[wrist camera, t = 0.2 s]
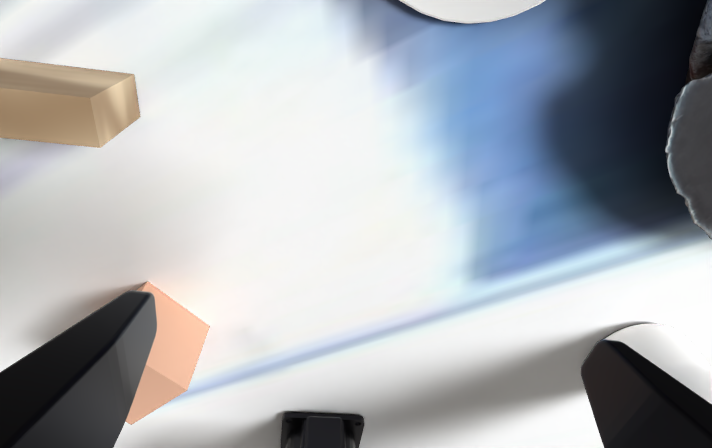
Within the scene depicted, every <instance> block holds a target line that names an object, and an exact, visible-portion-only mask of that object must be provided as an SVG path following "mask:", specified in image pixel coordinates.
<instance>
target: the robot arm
mask: <svg viewBox="0 0 712 448" xmlns="http://www.w3.org/2000/svg"><path fill="white" fill-rule="evenodd" d="M156 332H157V317H156V306H155V297H154V295H153V294H152V293H151V292H145V291H136V290H130V291H127V292H125V293H123V294H122V295H120V296H119V297H117V298H116V299H114V300H112V301H111V302H109V303H108V304H106V305H105V306H103V307H101V308H100V309H98V310H97V311H95V312H94V313H92V314H91V315H89V316H87V317H86V318H84V319H83V320H81V321H80V322H78V323H76V324H75V325H73V326H72V327H70V328H69V329H67V330H66V331H64V332H62V333H61V334H59V335H58V336H56V337H55V338H53V339H52V340H50V341H48V342H47V343H45V344H44V345H42V346H41V347H39V348H37V349H36V350H34V351H33V352H31V353H30V354H28V355H27V356H25V357H23V358H22V359H20V360H19V361H17V362H16V363H14V364H12V365H11V366H9V367H8V368H6V369H5V370H3V371H2V372H0V448H113V447H114V445H115V442H116V440H117V438H118V436H119V434H120V432H121V430H122V428H123V425H124V423H125V421H126V419H127V416H128V414H129V411H130V408H131V406H132V403H133V400H134V397H135V394H136V391H137V388H138V386H139V383H140V380H141V377H142V374H143V371H144V368H145V365H146V362H147V359H148V357H149V354H150V351H151V348H152V345H153V342H154V339H155V336H156ZM581 376H582V380H583V383H584V386H585V389H586V392H587V395H588V399H589V402H590V405H591V408H592V411H593V414H594V418H595V421H596V424H597V427H598V430H599V433H600V436H601V439H602V442H603V445H604V448H712V404H711V403H709V402H708V401H706V400H705V399H703V398H702V397H701V396H699V395H698V394H696V393H695V392H693V391H692V390H691V389H689V388H688V387H686V386H685V385H683V384H682V383H681V382H679V381H678V380H676V379H675V378H673V377H672V376H670V375H669V374H668V373H666V372H665V371H663V370H662V369H660V368H659V367H658V366H656V365H655V364H653V363H652V362H650V361H649V360H648V359H646V358H645V357H643V356H642V355H640V354H639V353H638V352H636V351H635V350H633V349H632V348H630V347H629V346H628V345H626V344H625V343H623V342H620V341H615V340H606V339H603V340H600V341H598V342H597V343H596V345H595V346H594V348H593V349H592V350H591V352H590V353H589V355H588V356H587V358H586V359H585V361H584V362H583V364H582V367H581ZM363 427H364V418H363V417H362V416H359V415H336V414H312V413H285V414H284V415H283V420H282V434H281V448H359V444H360V440H361V436H362V432H363Z"/></svg>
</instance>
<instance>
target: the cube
mask: <svg viewBox="0 0 712 448" xmlns="http://www.w3.org/2000/svg"><path fill="white" fill-rule="evenodd" d="M136 291H145V292H151V293H152V294H153V295H154V297H155V306H156V317H157V332H156V336H155V339H154V342H153V345H152V348H151V351H150V354H149V357H148V359H147V362H146V365H145V368H144V371H143V374H142V377H141V380H140V383H139V386H138V388H137V391H136V394H135V397H134V400H133V403H132V406H131V408H130V411H129V414H128V416H127V419H126V422H127V423H129V424H131V425H132V424H133V423H135V422H137V421H138V420H140V419H141V418H143V417H145V416H146V415H148V414H150V413H151V412H153V411H154V410H156V409H158V408H159V407H161V406H162V405H164V404H166V403H167V402H169V401H171V400H172V399H174V398H175V397H177V396H179V395H180V394H182V393H183V392H185V391H187V389H188V387H189V384H190V381H191V378H192V375H193V372H194V370H195V367H196V364H197V361H198V358H199V355H200V353H201V350H202V347H203V344H204V341H205V338H206V336H207V333H208V330H209V327H210V326H209V325H208V324H206V323H205V322H203V321H202V320H201V319H199V318H198V317H196V316H195V315H194V314H192V313H191V312H190V311H188V310H187V309H185V308H184V307H183V306H181V305H180V304H178V303H177V302H176V301H174V300H173V299H171V298H170V297H169V296H167V295H166V294H165V293H163V292H162V291H160V290H159V289H158V288H156V287H155V286H153V285H152V284H151V283H149V282H148V281H147V282H146V283H145V284H144V285H142V286H141V287H140V288H138V289H137V290H136Z"/></svg>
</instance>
